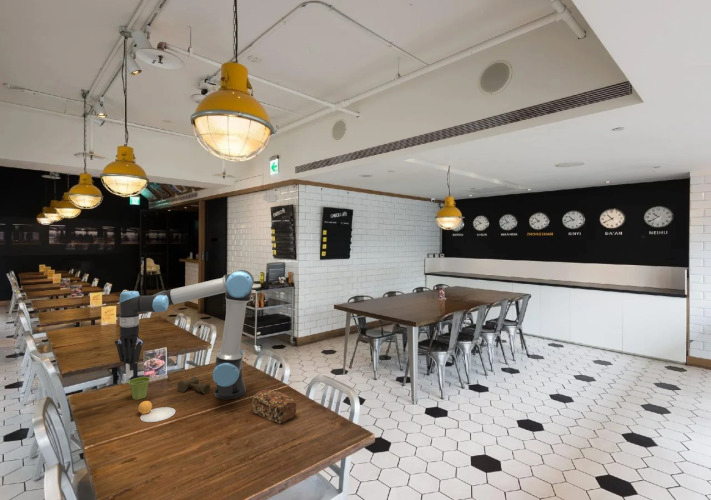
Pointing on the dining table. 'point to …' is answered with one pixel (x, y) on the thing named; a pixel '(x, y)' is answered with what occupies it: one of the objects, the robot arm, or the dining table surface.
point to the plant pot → (139, 387)
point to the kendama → (193, 385)
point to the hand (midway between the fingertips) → (129, 377)
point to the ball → (145, 407)
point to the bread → (273, 405)
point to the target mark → (158, 414)
